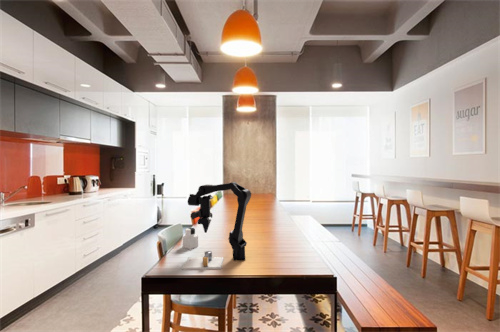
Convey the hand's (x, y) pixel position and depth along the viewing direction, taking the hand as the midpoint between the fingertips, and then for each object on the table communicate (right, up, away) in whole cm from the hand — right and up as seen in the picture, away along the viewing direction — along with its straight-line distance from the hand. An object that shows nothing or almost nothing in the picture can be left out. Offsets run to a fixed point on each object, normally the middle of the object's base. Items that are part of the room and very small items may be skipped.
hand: (205, 232), depth 167 cm
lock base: (+1, -14, -14) cm, 20 cm away
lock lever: (+3, -12, -15) cm, 19 cm away
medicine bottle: (-12, -13, +14) cm, 23 cm away
